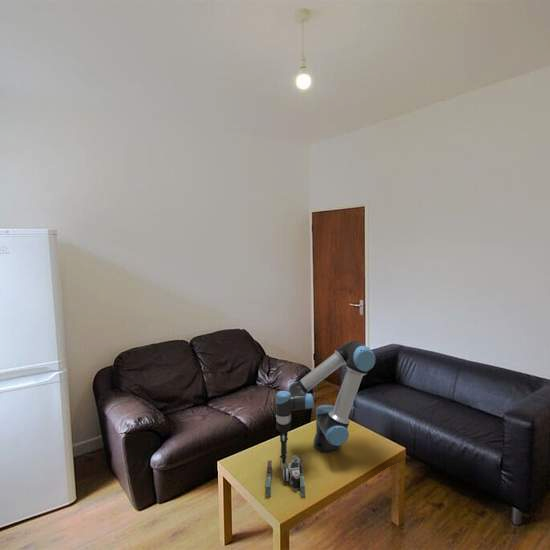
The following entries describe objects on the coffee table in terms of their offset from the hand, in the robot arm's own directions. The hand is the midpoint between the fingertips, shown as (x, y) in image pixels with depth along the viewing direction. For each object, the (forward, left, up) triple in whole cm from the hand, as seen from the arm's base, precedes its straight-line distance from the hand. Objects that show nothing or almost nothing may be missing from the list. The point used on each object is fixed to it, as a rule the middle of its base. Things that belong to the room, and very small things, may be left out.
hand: (284, 460), depth 190 cm
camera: (-4, +11, -4) cm, 12 cm away
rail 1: (+7, +13, -3) cm, 15 cm away
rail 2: (-9, +13, -3) cm, 16 cm away
